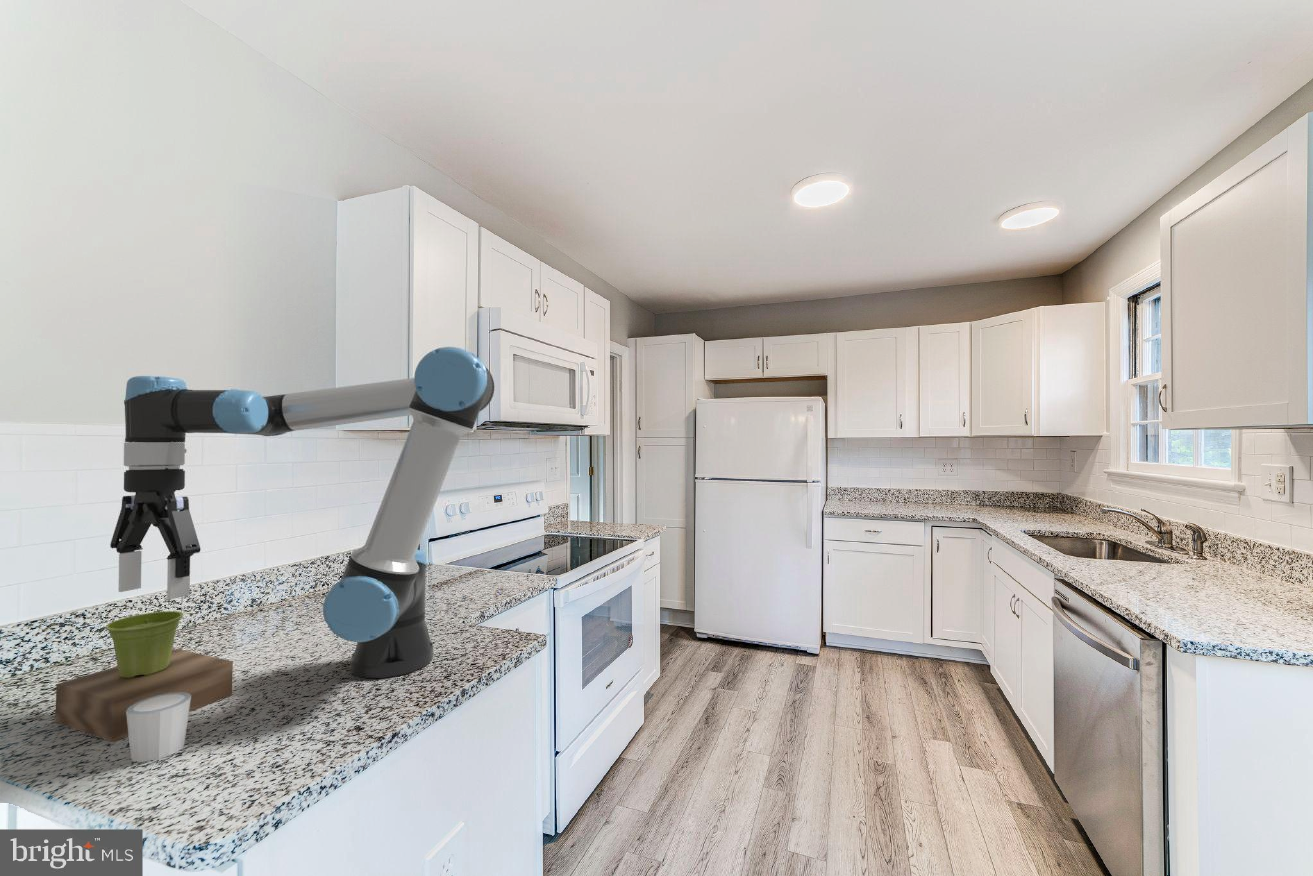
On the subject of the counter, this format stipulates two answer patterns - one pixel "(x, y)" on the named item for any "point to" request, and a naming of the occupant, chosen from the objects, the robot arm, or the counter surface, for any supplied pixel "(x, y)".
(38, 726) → the counter surface
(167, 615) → the plant pot
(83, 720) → the walnut block
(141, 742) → the white tapered cup
